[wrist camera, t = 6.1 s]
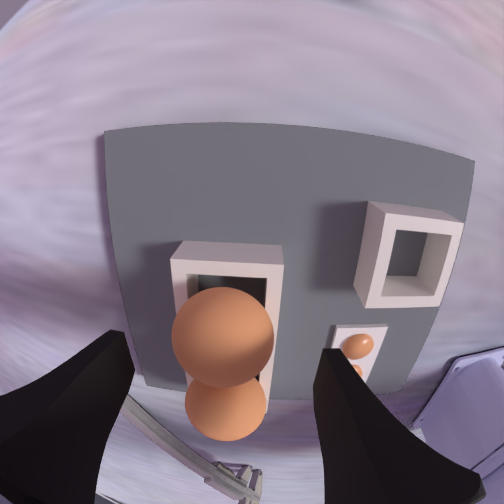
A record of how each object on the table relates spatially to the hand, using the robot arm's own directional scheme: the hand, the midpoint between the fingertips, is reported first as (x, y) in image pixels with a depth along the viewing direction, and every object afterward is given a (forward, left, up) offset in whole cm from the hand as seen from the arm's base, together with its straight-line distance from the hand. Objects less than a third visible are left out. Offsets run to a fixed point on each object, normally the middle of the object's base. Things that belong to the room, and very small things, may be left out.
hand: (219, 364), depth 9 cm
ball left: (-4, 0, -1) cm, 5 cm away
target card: (-4, -7, -5) cm, 9 cm away
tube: (+3, -8, -5) cm, 10 cm away
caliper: (-17, +4, -6) cm, 18 cm away
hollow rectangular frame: (-2, 0, -5) cm, 5 cm away
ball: (0, 0, -1) cm, 1 cm away
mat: (0, -3, -6) cm, 6 cm away
